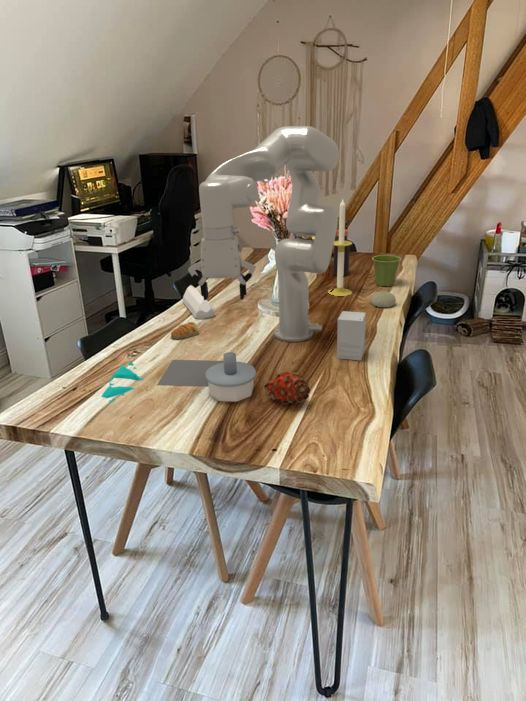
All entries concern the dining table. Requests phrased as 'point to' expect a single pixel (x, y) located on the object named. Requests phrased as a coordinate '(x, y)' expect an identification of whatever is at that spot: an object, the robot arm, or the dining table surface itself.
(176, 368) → the mat
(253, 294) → the dining table surface
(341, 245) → the candle
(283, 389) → the dragon fruit
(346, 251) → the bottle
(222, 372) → the lid
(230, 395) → the bowl
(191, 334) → the pastry
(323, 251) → the robot arm
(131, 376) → the cloth
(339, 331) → the supplement box
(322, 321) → the dining table surface
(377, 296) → the sea urchin shell
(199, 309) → the crystal
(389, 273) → the plant pot
